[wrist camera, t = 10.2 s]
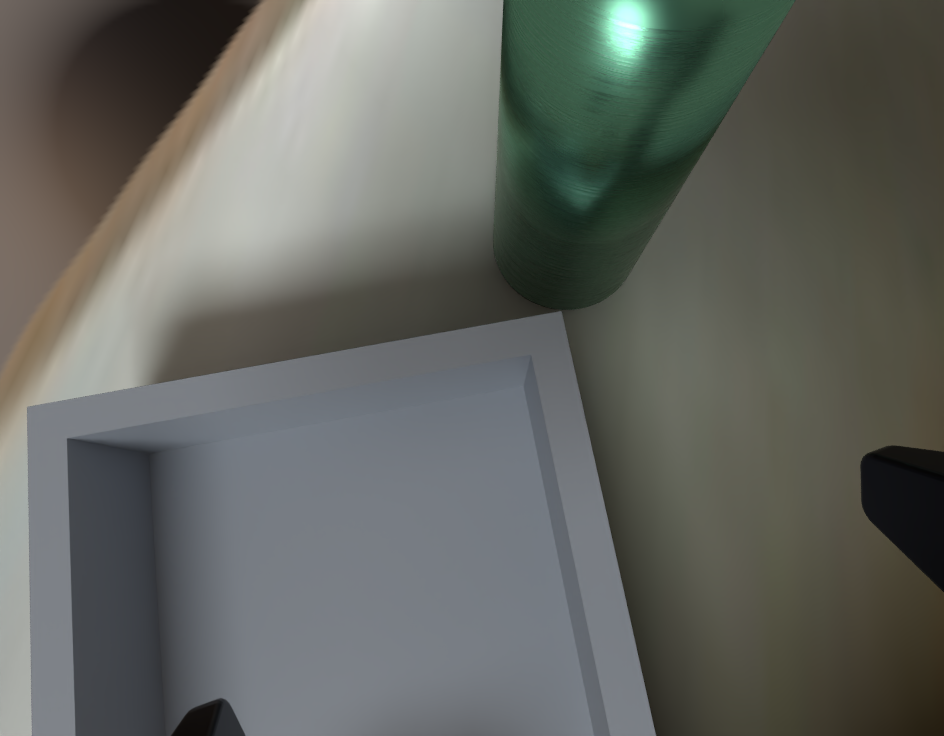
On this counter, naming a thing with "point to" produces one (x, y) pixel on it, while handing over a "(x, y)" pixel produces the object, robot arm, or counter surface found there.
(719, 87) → the green tall cylinder
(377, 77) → the counter surface
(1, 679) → the counter surface
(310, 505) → the grey tote
